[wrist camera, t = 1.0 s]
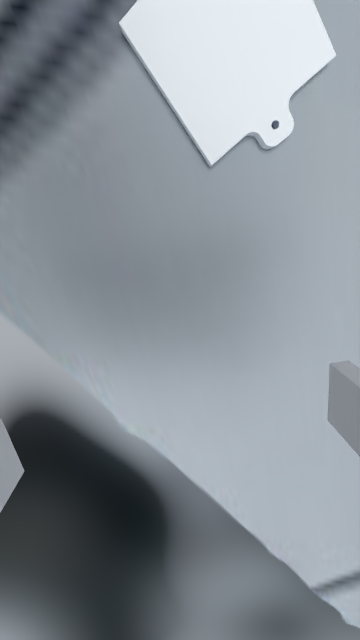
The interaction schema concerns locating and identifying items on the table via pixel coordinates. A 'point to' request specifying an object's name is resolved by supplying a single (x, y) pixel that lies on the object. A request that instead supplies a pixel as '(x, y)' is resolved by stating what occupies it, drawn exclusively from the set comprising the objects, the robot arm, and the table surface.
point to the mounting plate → (229, 64)
